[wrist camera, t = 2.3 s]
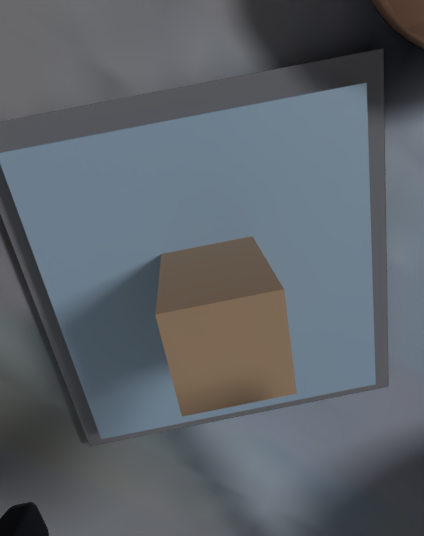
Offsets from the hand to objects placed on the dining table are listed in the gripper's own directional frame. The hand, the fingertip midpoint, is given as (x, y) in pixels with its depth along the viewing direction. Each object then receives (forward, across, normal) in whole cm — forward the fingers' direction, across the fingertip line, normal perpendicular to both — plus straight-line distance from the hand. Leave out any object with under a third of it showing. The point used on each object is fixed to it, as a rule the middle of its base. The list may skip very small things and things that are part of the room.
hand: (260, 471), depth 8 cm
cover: (+10, 0, 0) cm, 10 cm away
